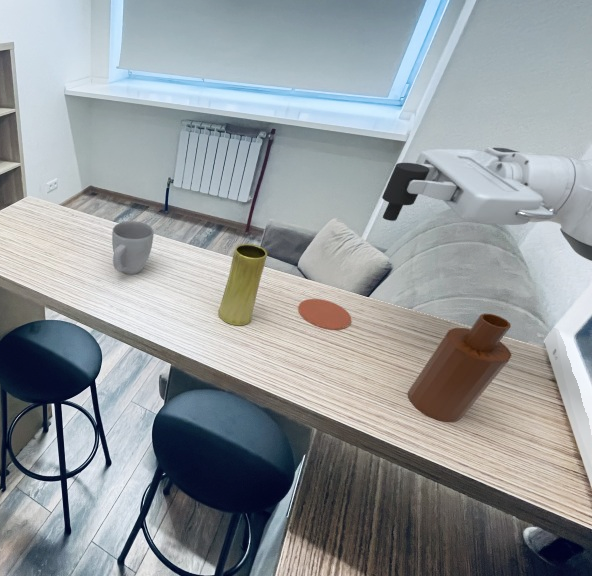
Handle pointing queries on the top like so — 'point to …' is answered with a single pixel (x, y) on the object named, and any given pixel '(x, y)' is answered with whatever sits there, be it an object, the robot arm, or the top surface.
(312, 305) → the coaster
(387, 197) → the stopper
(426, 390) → the bottle
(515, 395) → the top surface
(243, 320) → the vase
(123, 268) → the mug
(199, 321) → the top surface
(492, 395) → the top surface
